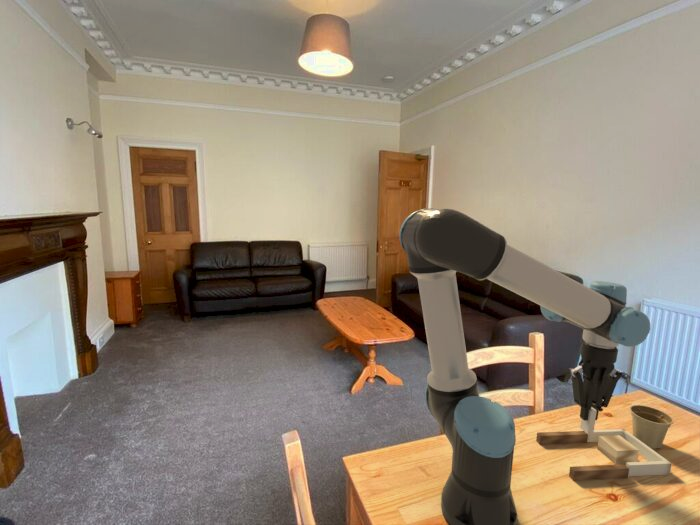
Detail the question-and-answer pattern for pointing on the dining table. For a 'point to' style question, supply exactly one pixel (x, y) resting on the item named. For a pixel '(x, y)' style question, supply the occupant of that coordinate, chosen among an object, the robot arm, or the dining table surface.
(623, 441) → the beige square block
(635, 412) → the flower pot
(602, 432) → the corral
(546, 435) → the slot rails
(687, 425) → the dining table surface
